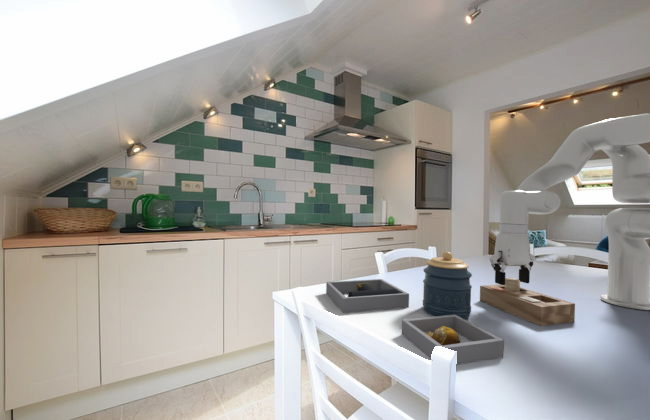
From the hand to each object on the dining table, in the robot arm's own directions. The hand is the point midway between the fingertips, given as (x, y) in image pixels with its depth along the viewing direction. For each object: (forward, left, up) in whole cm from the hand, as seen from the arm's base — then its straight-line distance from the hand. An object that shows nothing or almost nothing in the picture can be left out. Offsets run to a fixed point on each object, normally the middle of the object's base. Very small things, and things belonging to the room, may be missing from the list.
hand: (512, 283), depth 90 cm
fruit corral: (+39, +18, -7) cm, 43 cm away
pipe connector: (+44, -12, -7) cm, 46 cm away
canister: (+26, +1, -7) cm, 26 cm away
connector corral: (+45, -14, -7) cm, 47 cm away
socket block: (+2, +5, -7) cm, 9 cm away
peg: (0, 0, -7) cm, 7 cm away
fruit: (+40, +16, -7) cm, 44 cm away
